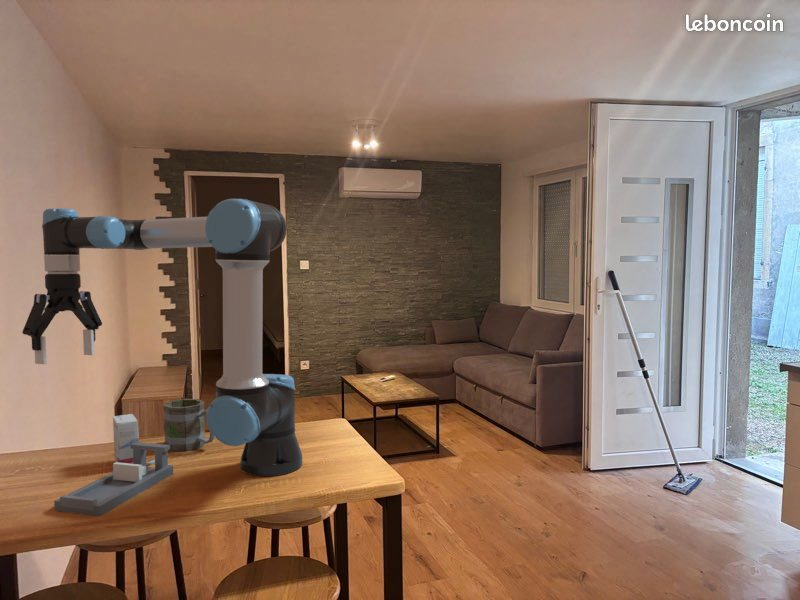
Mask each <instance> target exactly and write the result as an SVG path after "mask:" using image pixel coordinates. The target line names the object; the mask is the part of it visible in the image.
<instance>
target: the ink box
mask: <svg viewBox="0 0 800 600" xmlns="http://www.w3.org/2000/svg"><path fill="white" fill-rule="evenodd" d="M112 421H113V423H112V425H113V428H112V429H113V445H114V446H113V448H114V449H113V450H114V463H116V462H119V463H129V464H130V463H132V462H134V460H133V449H130V444H133V443H135V442H140V438H139V437H140V436H139V421H138V419H137V418H136V417H135V415H134V414H133V413H129V414H121V415H115V416H112Z"/></svg>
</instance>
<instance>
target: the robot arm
mask: <svg viewBox="0 0 800 600" xmlns="http://www.w3.org/2000/svg"><path fill="white" fill-rule="evenodd" d="M41 228H42V237H43V240H42V241H43V258H44V259H43V260H44V265H43V266H44V271H45V272H47V273H45V275H44V282H45V283H44V286H45V287H44V288H45V289H46V290H47V293H46V294H45V293H35V294H34V296H33V304H32V307H31V310H30V312H29V314H28V317H27V320H26V322H25V324H24V326H23V329H22V334H23V335H25V336H28V337H31V349H32V351H34V364H35V365H46V364H47V348H46V347H47V343H46V336H45V335H44V332H45V331H46V330H47V328H48V327H49V325H50V324H51V322H52V321H53V319H54V318H55V316H56V315H57V314H59V313H60V312H62V313H63V312H66V311H67V312H68V311H69V312H72V313H73V314H74V316H75V317H76V318H77V320H78V321H79V322H80V323H81V324H82V325H83V326H84V328H85V329H83V330H82V336H83V337H82V338H83V339H82V341H83V355H84V356H95V342H96V330H99V327H102V325H103V322H102V319H101V318H100V316H99V314H98V311H97V309H96V307H95V305H94V303H93V301H92V296H91V295H92V294H91V292H90V291H84V290H83V291H82V290H81V291H79V290H80V288H81V287H82V284H81V283H82V282H81V281H82V280H81V274H80V273H78V272H80V271H81V259H80V256H81V255H80V249H100V250H101V249H102V250H104V249H106V250H108V249H109V250H113V249H114V250H122V249H123V250H136V251H139V250H141V251H143V250H144V251H145V250H150V249H151V250H152V249H176V248H177V249H179V248H180V249H182V248H183V249H184V248H213V249H215V262H216V263H217V264H218V265H219V266H220V267H221V268H222V356H223V357H222V370H223V371H222V375H221V378H218V380H217V381H216V382H215V398H214V399H213V400H212V402H210V404H209V405H208V407H207V413H206V414H205V422H206V424H207V428H208V430H209V433H210V432H211V433H212V435H214V436H215V437H214V438H216V440H217V441H218V442H220V443H221V444H224V445H226V446H231V447H239V446H242V445H244V448H243V451H242V454H241V457H240V469H241V471H242V472H243V473H245V474H247V475H252V476H260V477H269V476H270V477H271V476H279V475H280V476H281V475H284V474H285V475H286V474H289V473H292V472H294V471H296V470H298V469H300V468H301V467H302V466H303V453H302V452H303V451H302V450H301V447H300V443H299V441H298V438H297V436H296V388H295V380H294V377H292V375H288V374H280V373H279V374H277V373H276V374H275V373H263V320H264V319H263V317H264V315H263V313H264V312H263V304H264V303H263V301H264V299H263V298H264V297H263V295H264V294H263V293H264V292H263V290H264V289H263V288H264V284H263V281H264V280H263V279H264V276H263V273H264V269H265V267H266V266H267V265H268V264H269V263H270V257H271V256H270V254H271V253H270V252H272V251H274V250H276V249H278V248H279V247H281V245H283V242H284V240H285V239H286V235H287V230H288V227H287V222H286V218H285V217H284V216H283V214H282V213H281V211H280V210H278V209H277V208H276V207H275V206H273V205H270V204H267V203H263V202H258V201H255V200H254V201H253V200H248V199H246V198H228V199H225V200H221V201H220V202H218V203H217V204H216V205H215V206H214V207H213V208H212V209H210V211H209V213H208V214H207V216H195V217H194V216H193V217H191V216H190V217H175V218H174V217H172V218H169V217H168V218H154V219H153V218H152V219H121V218H117V217H114V216H108V215H107V216H105V215H104V216H103V215H98V216H83V217H82V216H81V217H80V216H79V212H78V211H77V210H76V209H72V208H46V209H45V210H43V213H42V226H41ZM79 301H80V302H79Z"/></svg>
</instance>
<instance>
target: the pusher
mask: <svg viewBox="0 0 800 600" xmlns="http://www.w3.org/2000/svg"><path fill="white" fill-rule="evenodd" d="M153 464H155V458H154V459H152V460H150V461H148V462H146V464H144V465H139V464H129V463H119V462H114V463H112V471H113V476H114V480H123V481H132V482H138V481H139V480H141V479H142V476H143V475H145V474H147V471H146V467H150V466H152V465H153Z"/></svg>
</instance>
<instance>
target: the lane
mask: <svg viewBox="0 0 800 600" xmlns="http://www.w3.org/2000/svg"><path fill="white" fill-rule="evenodd" d="M130 449H133V460H134V462H132V463H130V464H139V465H144V464H146V463H147V451H153V452H154V459H155V463H154V466H155V467H150V466H148V467H146V471H147V474H145V475H143V476H142V479H141V480H139V481H138V482H132V481H123V480H114V476H113V472H110V473H108V474H106V475H105V476H102V477H100V478H99V479H97V480H94V481H92V482H90V483H88V484H86V485H84V486H81V487H80V488H78V489H76V490H73V491H71V492H69V493H68V494H63V495H61V496H60V497H59V498H58V499H55V500H53V501H54V503H53V504H54V505H53V506H54V511H56V512H58V511H59V512H64V513H72V514H73V513H74V514H80V515H87V516H95V517H96V516H97V517H101V516H102V515H104V514H106V513H108V512H110V511H111V510H113V509H115V508H117V507H118V506H120V505H122V504H124V503H126V502H127V501H128V500H130V499H132V498H135V496H137V495H139V494H141V493H142V492H144V491H146V490H147V489H149V488H151V487H153V486H155V485H157V484H158V483H160V482H162V481H163V480H165V479H167V478H168V477H170V476H172V475H174V465H173V464H172V465H169V463H168V462H169V461H168V458H169V457H168V450H169V449H170V445H165V444H163V443H151V442H150V443H149V442H140V441H139V442H135V443H133V444H130Z"/></svg>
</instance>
